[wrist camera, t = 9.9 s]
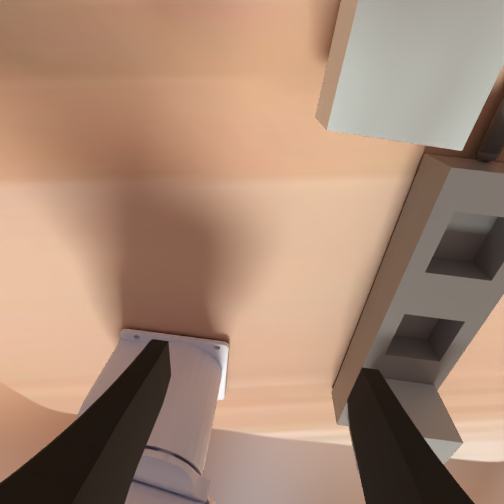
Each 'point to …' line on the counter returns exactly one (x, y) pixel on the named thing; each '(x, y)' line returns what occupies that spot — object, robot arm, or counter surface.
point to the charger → (412, 69)
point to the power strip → (433, 287)
